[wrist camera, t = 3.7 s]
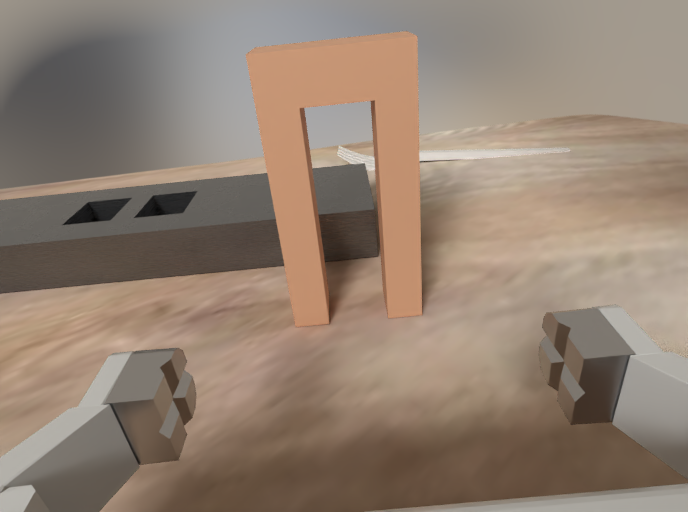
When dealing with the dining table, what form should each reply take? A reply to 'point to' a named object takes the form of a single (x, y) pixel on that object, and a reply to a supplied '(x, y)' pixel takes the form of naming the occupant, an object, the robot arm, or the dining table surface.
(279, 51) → the clip
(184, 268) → the rail
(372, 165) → the fork
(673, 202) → the dining table surface
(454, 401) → the dining table surface
